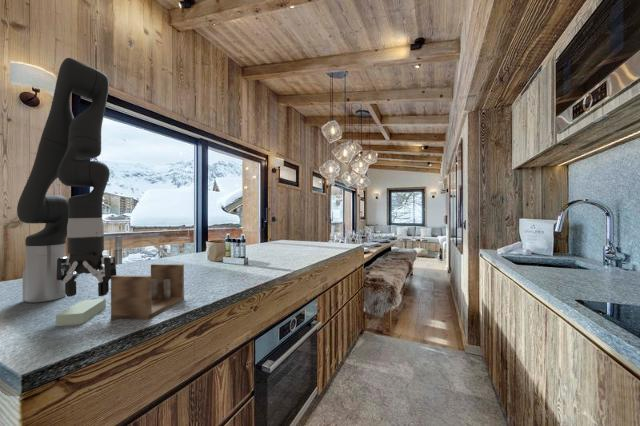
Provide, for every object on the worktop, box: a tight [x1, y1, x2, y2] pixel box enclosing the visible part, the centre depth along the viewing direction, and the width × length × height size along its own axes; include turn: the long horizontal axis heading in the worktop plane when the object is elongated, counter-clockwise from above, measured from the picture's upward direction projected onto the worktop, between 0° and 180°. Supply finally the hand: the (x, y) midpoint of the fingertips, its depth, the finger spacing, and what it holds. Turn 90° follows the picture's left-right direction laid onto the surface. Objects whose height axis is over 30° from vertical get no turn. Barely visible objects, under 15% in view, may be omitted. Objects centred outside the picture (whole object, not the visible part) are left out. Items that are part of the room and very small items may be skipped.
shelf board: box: [55, 298, 107, 327], centre depth 75 cm, size 6×12×3 cm, turn 15°
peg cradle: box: [110, 263, 185, 320], centre depth 81 cm, size 10×17×11 cm, turn 178°
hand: (87, 295), depth 75 cm, fingers open, 8 cm apart
